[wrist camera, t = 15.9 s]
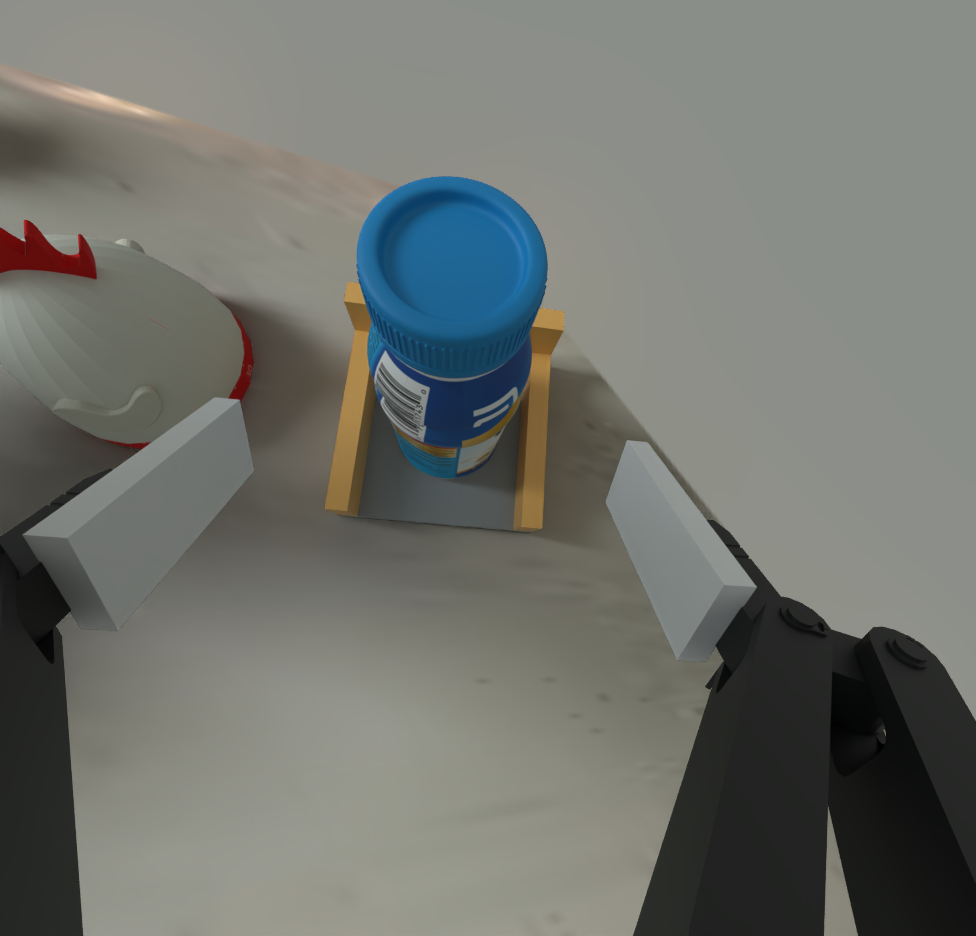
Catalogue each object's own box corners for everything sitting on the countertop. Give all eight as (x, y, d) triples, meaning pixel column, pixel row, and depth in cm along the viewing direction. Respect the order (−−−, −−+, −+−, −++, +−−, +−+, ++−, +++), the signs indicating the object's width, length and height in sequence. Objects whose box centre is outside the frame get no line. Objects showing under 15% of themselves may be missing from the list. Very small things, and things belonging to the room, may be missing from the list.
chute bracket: (529, 532, 33) (555, 524, 25) (340, 515, 32) (307, 501, 24) (538, 364, 37) (564, 311, 29) (368, 342, 35) (347, 281, 27)
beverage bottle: (389, 389, 33) (315, 153, 14) (490, 378, 35) (550, 146, 15) (402, 489, 32) (337, 379, 12) (507, 474, 33) (599, 351, 14)
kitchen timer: (62, 305, 33) (-235, 108, 19) (240, 279, 35) (98, 84, 21) (73, 467, 31) (-263, 384, 16) (264, 429, 33) (121, 325, 18)
